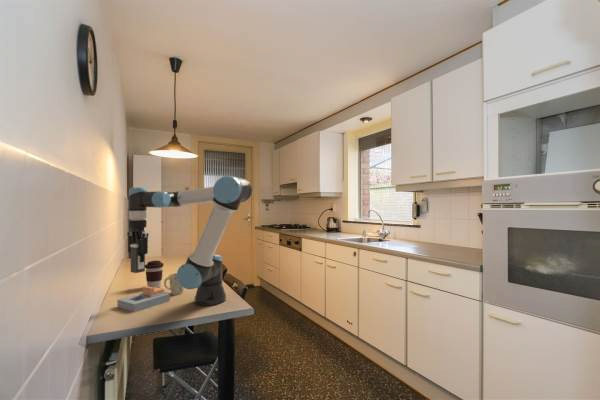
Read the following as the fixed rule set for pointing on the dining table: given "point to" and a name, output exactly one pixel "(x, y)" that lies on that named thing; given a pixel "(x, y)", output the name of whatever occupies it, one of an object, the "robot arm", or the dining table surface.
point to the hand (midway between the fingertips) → (137, 268)
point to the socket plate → (142, 301)
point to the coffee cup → (154, 273)
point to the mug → (174, 284)
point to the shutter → (151, 290)
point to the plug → (135, 259)
